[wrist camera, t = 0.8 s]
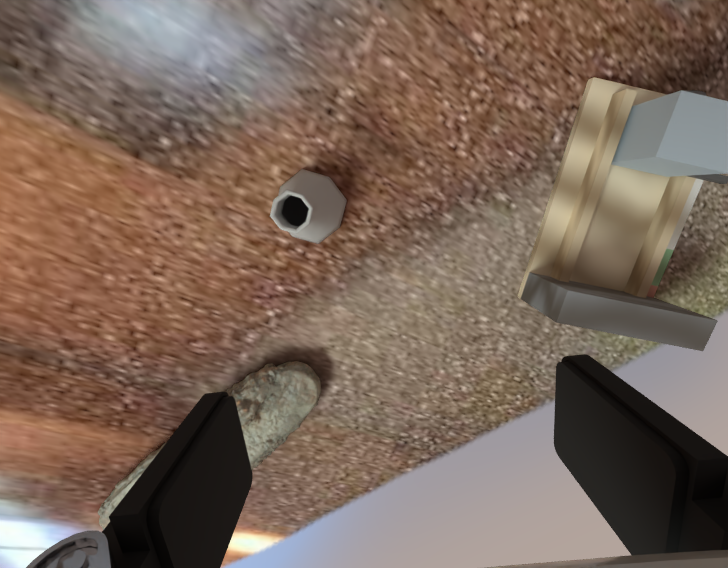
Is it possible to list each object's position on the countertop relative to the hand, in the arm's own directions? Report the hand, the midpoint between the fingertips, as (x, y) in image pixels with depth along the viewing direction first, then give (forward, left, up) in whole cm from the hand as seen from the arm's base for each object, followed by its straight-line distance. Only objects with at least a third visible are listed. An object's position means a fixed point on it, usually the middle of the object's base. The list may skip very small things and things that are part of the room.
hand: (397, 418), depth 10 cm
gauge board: (-10, +24, -28) cm, 38 cm away
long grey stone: (+28, -15, -29) cm, 43 cm away
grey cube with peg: (-17, +26, -27) cm, 41 cm away
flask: (-4, -7, -29) cm, 30 cm away
